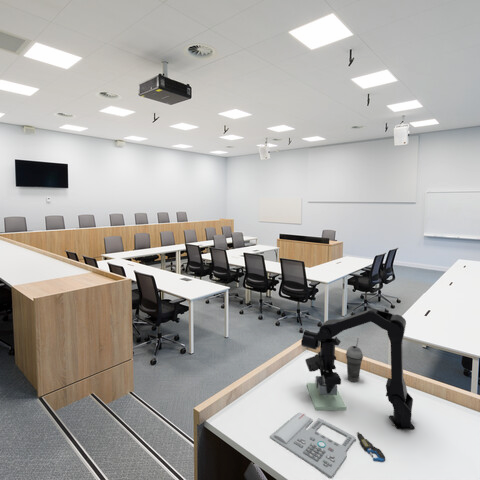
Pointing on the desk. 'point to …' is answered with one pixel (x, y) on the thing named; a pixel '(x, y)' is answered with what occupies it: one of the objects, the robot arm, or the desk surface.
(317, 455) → the office telephone
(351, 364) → the beverage cup
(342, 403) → the keyed post stand
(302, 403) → the desk surface
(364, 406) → the desk surface
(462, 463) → the desk surface
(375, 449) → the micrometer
